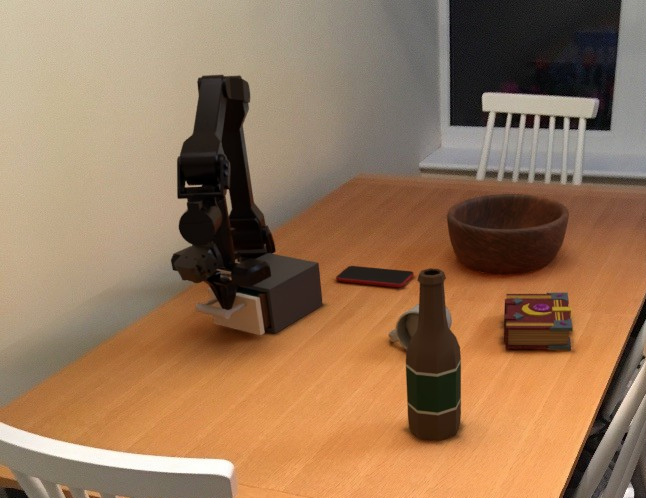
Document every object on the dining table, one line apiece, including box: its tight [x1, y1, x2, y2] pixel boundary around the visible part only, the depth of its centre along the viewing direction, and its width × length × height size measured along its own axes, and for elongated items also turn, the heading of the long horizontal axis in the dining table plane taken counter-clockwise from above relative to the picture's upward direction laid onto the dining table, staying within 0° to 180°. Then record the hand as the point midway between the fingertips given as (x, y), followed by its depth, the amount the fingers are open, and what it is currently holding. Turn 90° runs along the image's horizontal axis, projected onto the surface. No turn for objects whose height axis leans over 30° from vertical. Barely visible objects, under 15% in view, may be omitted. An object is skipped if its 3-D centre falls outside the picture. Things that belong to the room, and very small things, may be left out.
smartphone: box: [335, 265, 415, 288], centre depth 172 cm, size 7×1×15 cm
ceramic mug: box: [388, 303, 453, 351], centre depth 144 cm, size 11×8×8 cm
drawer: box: [195, 287, 271, 336], centre depth 154 cm, size 19×11×7 cm, turn 146°
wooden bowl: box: [446, 193, 570, 276], centre depth 175 cm, size 25×25×10 cm
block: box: [238, 288, 263, 297], centre depth 156 cm, size 4×4×4 cm
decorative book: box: [503, 291, 574, 351], centre depth 147 cm, size 11×16×5 cm
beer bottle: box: [405, 267, 462, 442], centre depth 116 cm, size 8×8×24 cm
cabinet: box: [239, 253, 324, 334], centre depth 158 cm, size 15×13×9 cm
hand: (227, 311), depth 150 cm, fingers closed, pressing on drawer
